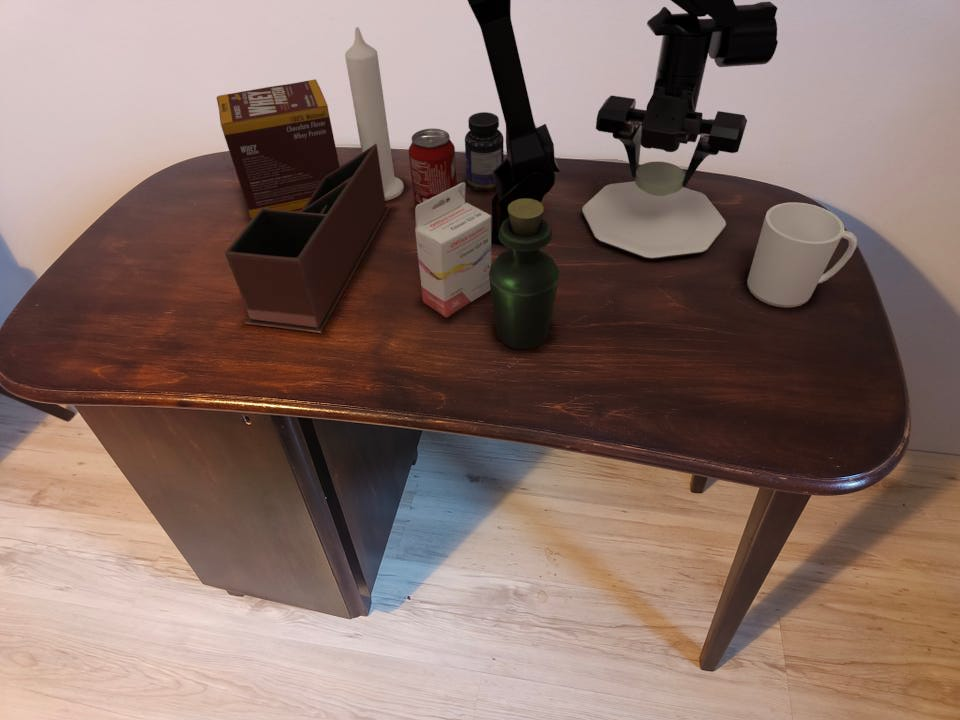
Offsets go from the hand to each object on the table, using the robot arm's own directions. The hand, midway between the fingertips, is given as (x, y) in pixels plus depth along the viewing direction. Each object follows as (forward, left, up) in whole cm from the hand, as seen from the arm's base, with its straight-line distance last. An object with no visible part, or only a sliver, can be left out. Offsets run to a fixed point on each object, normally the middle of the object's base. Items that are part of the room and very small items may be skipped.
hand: (658, 180), depth 91 cm
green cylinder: (0, 0, -1) cm, 1 cm away
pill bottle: (-28, +2, -7) cm, 29 cm away
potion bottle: (-9, -29, -7) cm, 32 cm away
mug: (+20, -9, -7) cm, 23 cm away
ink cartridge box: (-20, -26, -7) cm, 34 cm away
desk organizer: (-41, -26, -7) cm, 49 cm away
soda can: (-32, -8, -7) cm, 34 cm away
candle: (-43, -6, -7) cm, 44 cm away
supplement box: (-56, -12, -7) cm, 58 cm away
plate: (0, 0, -7) cm, 7 cm away
